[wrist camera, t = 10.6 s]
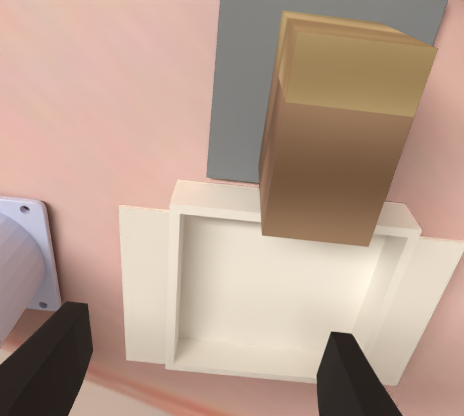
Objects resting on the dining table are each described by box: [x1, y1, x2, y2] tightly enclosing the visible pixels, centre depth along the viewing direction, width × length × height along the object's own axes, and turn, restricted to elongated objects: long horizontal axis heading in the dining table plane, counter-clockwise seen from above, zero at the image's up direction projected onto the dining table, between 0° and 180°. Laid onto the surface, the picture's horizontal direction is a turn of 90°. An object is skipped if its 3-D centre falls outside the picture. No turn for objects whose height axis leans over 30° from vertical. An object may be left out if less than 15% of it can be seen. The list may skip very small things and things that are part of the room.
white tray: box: [119, 179, 464, 386], centre depth 23 cm, size 17×12×2 cm
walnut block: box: [258, 10, 438, 247], centre depth 16 cm, size 7×4×6 cm, turn 174°
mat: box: [206, 0, 448, 183], centre depth 18 cm, size 9×9×1 cm
